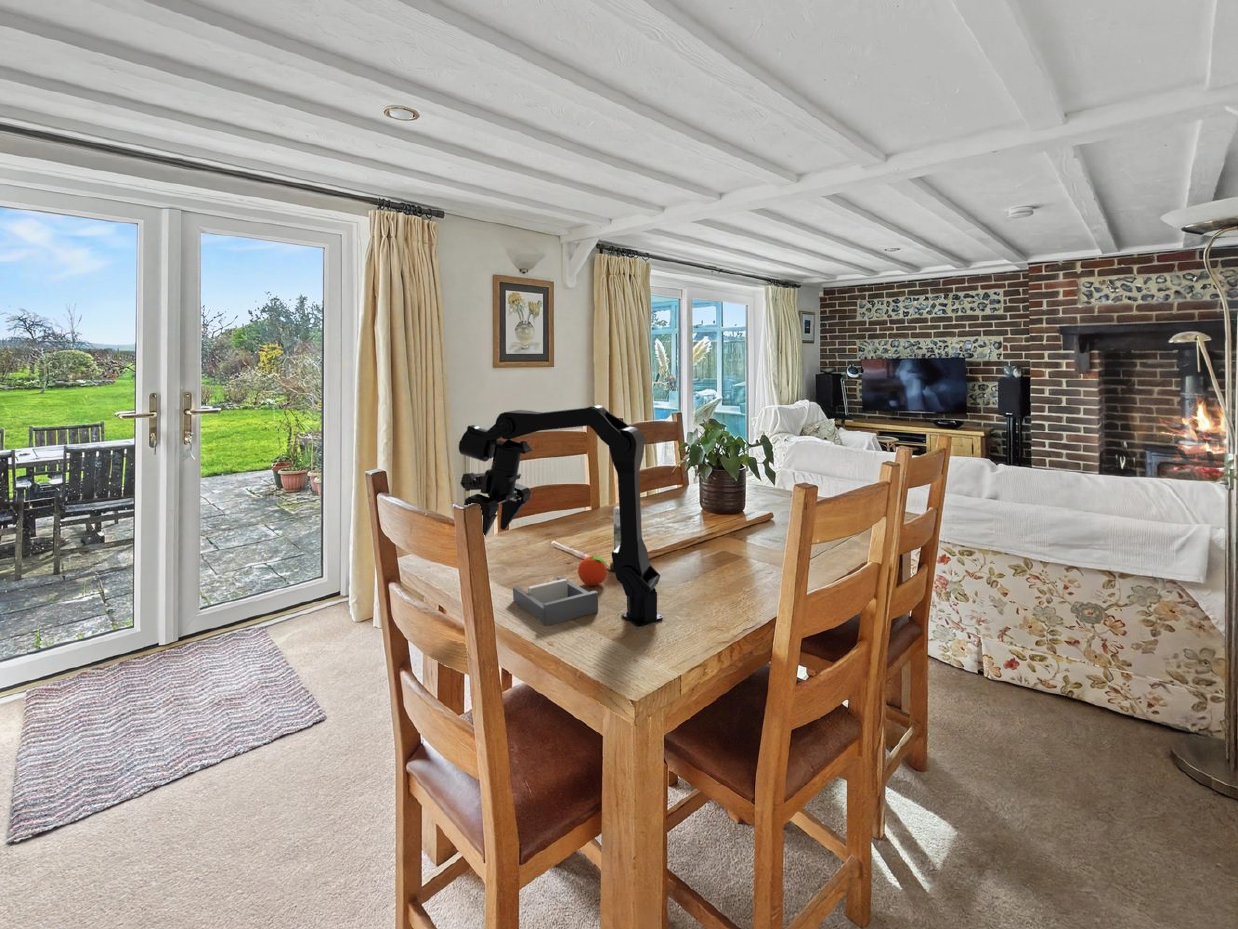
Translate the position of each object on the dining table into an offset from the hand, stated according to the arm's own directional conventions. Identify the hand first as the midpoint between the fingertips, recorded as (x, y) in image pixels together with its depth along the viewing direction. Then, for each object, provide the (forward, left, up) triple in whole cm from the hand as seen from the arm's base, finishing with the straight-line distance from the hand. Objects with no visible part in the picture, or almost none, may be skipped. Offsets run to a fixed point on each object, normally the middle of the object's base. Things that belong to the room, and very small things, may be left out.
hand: (492, 534), depth 138 cm
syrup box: (+7, -42, -16) cm, 45 cm away
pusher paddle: (-8, -10, -15) cm, 20 cm away
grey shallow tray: (-11, -10, -15) cm, 21 cm away
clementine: (-5, -24, -16) cm, 29 cm away
